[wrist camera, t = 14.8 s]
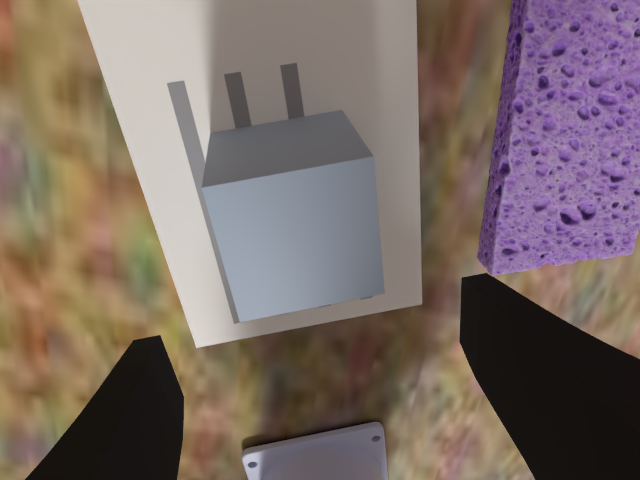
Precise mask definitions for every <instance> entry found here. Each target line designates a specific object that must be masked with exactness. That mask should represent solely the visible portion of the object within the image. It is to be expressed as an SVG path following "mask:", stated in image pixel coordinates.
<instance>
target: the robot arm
mask: <svg viewBox="0 0 640 480" xmlns="http://www.w3.org/2000/svg"><path fill="white" fill-rule="evenodd" d="M460 344H461V346H462V348H463V351H464V353H465V355H466V358H467V360H468V362H469V365H470V367H471V369H472V371H473V373H474V376H475V378H476V380H477V381H478V383H479V385H480V387H481V388H482V390H483V392H484V393H485V395H486V397H487V398H488V400H489V402H490V403H491V405H492V407H493V408H494V410H495V412H496V413H497V415H498V417H499V418H500V420H501V422H502V423H503V425H504V427H505V428H506V430H507V432H508V433H509V435H510V437H511V438H512V440H513V442H514V443H515V445H516V446H517V448H518V450H519V451H520V453H521V455H522V456H523V458H524V460H525V461H526V463H527V465H528V467H529V469H530V471H531V472H532V474H533V476H534V478H535V480H640V359H638V358H636V357H634V356H631V355H629V354H627V353H625V352H623V351H621V350H619V349H617V348H615V347H613V346H611V345H609V344H607V343H605V342H603V341H601V340H599V339H597V338H595V337H593V336H591V335H590V334H588V333H586V332H584V331H582V330H580V329H578V328H577V327H575V326H573V325H571V324H569V323H568V322H566V321H564V320H562V319H561V318H559V317H557V316H556V315H554V314H552V313H551V312H549V311H547V310H545V309H544V308H542V307H541V306H539V305H537V304H536V303H534V302H532V301H531V300H529V299H528V298H526V297H524V296H523V295H521V294H520V293H518V292H516V291H515V290H513V289H512V288H510V287H508V286H507V285H505V284H504V283H502V282H500V281H499V280H497V279H496V278H494V277H492V276H490V275H489V274H487V273H484V274H479V275H474V276H468V277H463V278H462V284H461V316H460ZM183 420H184V396H183V393H182V391H181V388H180V385H179V383H178V380H177V378H176V375H175V372H174V370H173V367H172V365H171V362H170V359H169V357H168V354H167V352H166V349H165V346H164V344H163V341H162V339H161V336H160V335H158V336H153V337H148V338H143V339H137V340H133V342H132V343H131V345H130V346H129V347H128V349H127V350H126V351H125V353H124V354H123V355H122V357H121V358H120V360H119V361H118V362H117V364H116V365H115V367H114V368H113V369H112V371H111V372H110V374H109V375H108V376H107V378H106V379H105V381H104V382H103V383H102V385H101V386H100V388H99V389H98V390H97V392H96V393H95V394H94V396H93V397H92V398H91V400H90V401H89V402H88V404H87V405H86V407H85V408H84V409H83V411H82V412H81V413H80V415H79V416H78V417H77V419H76V420H75V421H74V422H73V423H72V425H71V426H70V427H69V428H68V430H67V431H66V432H65V433H64V435H63V436H62V437H61V438H60V440H59V441H58V442H57V443H56V444H55V446H54V447H53V448H52V449H51V451H50V452H49V453H48V454H47V455H46V457H45V458H44V459H43V460H42V461H41V462H40V463H39V465H38V466H37V467H36V468H35V469H34V470H33V471H32V472H31V474H30V475H29V476H28V477H27V478H26V479H25V480H177V475H178V468H179V461H180V455H181V448H182V441H183ZM242 463H243V466H244V469H245V472H246V475H247V478H248V480H388V471H387V460H386V448H385V436H384V429H383V426H382V424H381V423H379V422H371V423H366V424H361V425H356V426H352V427H347V428H342V429H337V430H332V431H327V432H323V433H318V434H313V435H308V436H303V437H298V438H294V439H289V440H284V441H279V442H274V443H269V444H265V445H260V446H255V447H250V448H247V449H245V450H244V451H243V452H242Z"/></svg>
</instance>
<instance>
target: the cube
mask: <svg viewBox="0 0 640 480" xmlns="http://www.w3.org/2000/svg"><path fill="white" fill-rule="evenodd" d="M202 191H203V195H204V198H205V202H206V205H207V209H208V212H209V216H210V219H211V223H212V226H213V230H214V233H215V237H216V240H217V244H218V247H219V251H220V254H221V258H222V261H223V265H224V268H225V272H226V275H227V279H228V282H229V286H230V290H231V293H232V297H233V300H234V304H235V307H236V311H237V314H238V318H239V321H240V322H244V321H249V320H254V319H259V318H264V317H269V316H274V315H279V314H284V313H289V312H294V311H299V310H304V309H309V308H314V307H319V306H324V305H329V304H334V303H339V302H344V301H349V300H354V299H360V298H365V297H370V296H375V295H380V294H385V289H384V277H383V265H382V252H381V240H380V228H379V215H378V203H377V191H376V178H375V166H374V156H373V155H372V153H371V152H370V150H369V149H368V147H367V146H366V144H365V143H364V141H363V140H362V138H361V137H360V136H359V134H358V133H357V131H356V130H355V128H354V127H353V125H352V124H351V122H350V121H349V119H348V118H347V116H346V115H345V113H344V112H343V111H342V110H339V111H333V112H328V113H322V114H316V115H310V116H305V117H299V118H293V119H288V120H282V121H276V122H271V123H265V124H259V125H254V126H248V127H242V128H237V129H231V130H225V131H220V132H214V133H210V137H209V144H208V150H207V156H206V163H205V169H204V175H203V182H202Z"/></svg>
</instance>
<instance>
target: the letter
mask: <svg viewBox="0 0 640 480" xmlns="http://www.w3.org/2000/svg"><path fill="white" fill-rule="evenodd" d="M77 1H78V4H79V6H80V9H81V12H82V15H83V18H84V21H85V24H86V27H87V30H88V33H89V36H90V39H91V42H92V44H93V47H94V50H95V53H96V56H97V59H98V62H99V65H100V68H101V71H102V74H103V77H104V79H105V82H106V85H107V88H108V91H109V94H110V97H111V100H112V103H113V106H114V109H115V112H116V114H117V117H118V120H119V123H120V126H121V129H122V132H123V135H124V138H125V141H126V144H127V147H128V150H129V152H130V155H131V158H132V161H133V164H134V167H135V170H136V173H137V176H138V179H139V182H140V185H141V187H142V190H143V193H144V196H145V199H146V202H147V205H148V208H149V211H150V214H151V217H152V220H153V222H154V225H155V228H156V231H157V234H158V237H159V240H160V243H161V246H162V249H163V252H164V255H165V258H166V260H167V263H168V266H169V269H170V272H171V275H172V278H173V281H174V284H175V287H176V290H177V293H178V295H179V298H180V301H181V304H182V307H183V310H184V313H185V316H186V319H187V322H188V325H189V328H190V330H191V333H192V336H193V339H194V342H195V345H196V348H198V347H203V346H208V345H214V344H219V343H224V342H229V341H234V340H240V339H245V338H250V337H255V336H260V335H266V334H271V333H276V332H281V331H286V330H291V329H297V328H302V327H307V326H312V325H317V324H323V323H328V322H333V321H338V320H343V319H348V318H354V317H359V316H364V315H369V314H374V313H380V312H385V311H390V310H395V309H400V308H406V307H411V306H416V305H421V304H422V267H421V215H420V164H419V112H418V61H417V9H416V0H77ZM339 110H342V111H343V112H344V113H345V115H346V116H347V118H348V119H349V121H350V122H351V124H352V125H353V127H354V128H355V130H356V131H357V133H358V134H359V136H360V137H361V138H362V140H363V141H364V143H365V144H366V146H367V147H368V149H369V150H370V152H371V153H372V155H373V156H374V166H375V178H376V191H377V203H378V215H379V228H380V240H381V252H382V265H383V277H384V289H385V294H380V295H375V296H370V297H365V298H360V299H354V300H349V301H344V302H339V303H334V304H329V305H324V306H319V307H314V308H309V309H304V310H299V311H294V312H289V313H284V314H279V315H274V316H269V317H264V318H259V319H254V320H249V321H244V322H240V321H239V318H238V314H237V311H236V307H235V304H234V300H233V297H232V293H231V290H230V286H229V282H228V279H227V275H226V272H225V268H224V265H223V261H222V258H221V254H220V251H219V247H218V244H217V240H216V237H215V233H214V230H213V226H212V223H211V219H210V216H209V212H208V209H207V205H206V202H205V198H204V195H203V191H202V182H203V175H204V169H205V163H206V156H207V150H208V144H209V137H210V133H214V132H220V131H225V130H231V129H237V128H242V127H248V126H254V125H259V124H265V123H271V122H276V121H282V120H288V119H293V118H299V117H305V116H310V115H316V114H322V113H328V112H333V111H339Z"/></svg>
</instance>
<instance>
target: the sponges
mask: <svg viewBox="0 0 640 480" xmlns="http://www.w3.org/2000/svg"><path fill="white" fill-rule="evenodd" d="M489 175H490V179H489V187H488V189H487V192H486V199H485V205H484V213H483V220H482V226H481V233H480V239H479V251H478V256H477V258H478V259H479V261H480V262H481V264H482V265H483V266H484V267H485V268H487V270H488V272H489V273H490V274H491V275H492V276H495V275H501V274H507V273H513V272H521V271H526V270H532V269H539V268H541V267H542V266H543V265H544V264H548V263H549V264H553V265H554V266H559V265H561V264H566V263H576V262H577V261H578V260H589V259H594V260H595V259H596V258H601V259H607V258H612V257H616V256H619V255H631V254H632V253H633V250H634V247H635V240H636V237H637V235H638V231H639V226H640V0H512V4H511V13H510V27H509V31H508V35H507V53H506V57H505V60H504V67H503V76H502V84H501V95H500V100H499V104H498V114H497V121H496V129H495V136H494V144H493V150H492V157H491V165H490V170H489Z"/></svg>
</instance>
